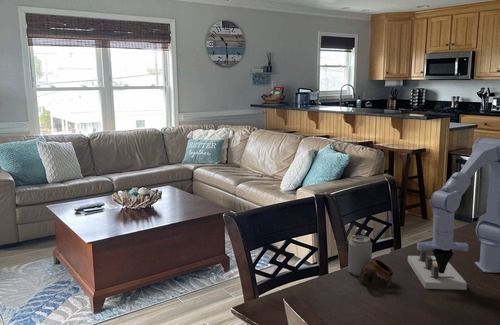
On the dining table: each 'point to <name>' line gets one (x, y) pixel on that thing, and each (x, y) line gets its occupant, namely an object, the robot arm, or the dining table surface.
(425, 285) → the breaker panel
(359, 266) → the can
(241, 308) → the dining table surface
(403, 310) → the dining table surface
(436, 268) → the handle
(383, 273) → the pottery mug
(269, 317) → the dining table surface
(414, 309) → the dining table surface
